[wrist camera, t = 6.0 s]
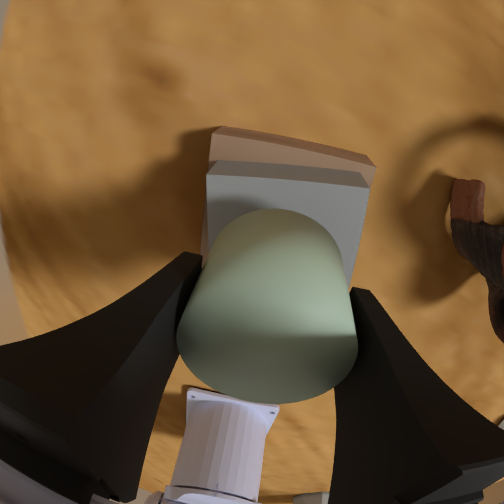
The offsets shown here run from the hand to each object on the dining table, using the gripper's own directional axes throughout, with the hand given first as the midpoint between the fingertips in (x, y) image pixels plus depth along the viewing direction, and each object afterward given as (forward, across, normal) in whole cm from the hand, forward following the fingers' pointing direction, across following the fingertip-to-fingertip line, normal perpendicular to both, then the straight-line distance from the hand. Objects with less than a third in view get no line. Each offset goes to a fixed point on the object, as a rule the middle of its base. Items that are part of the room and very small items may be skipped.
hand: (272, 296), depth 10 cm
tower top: (+5, 0, 0) cm, 5 cm away
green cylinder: (+1, 0, 0) cm, 1 cm away
